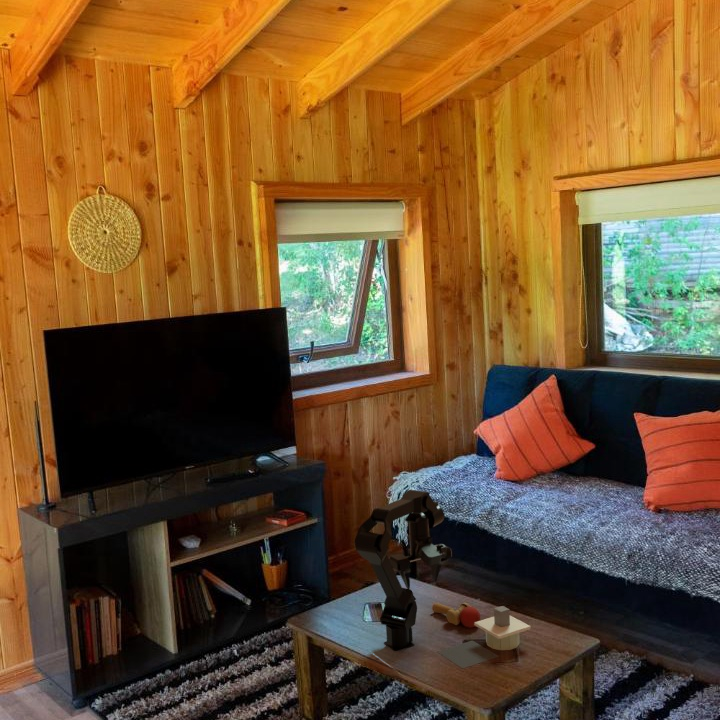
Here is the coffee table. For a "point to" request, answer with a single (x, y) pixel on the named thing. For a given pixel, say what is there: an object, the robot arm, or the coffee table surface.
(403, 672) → the coffee table surface
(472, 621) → the kendama
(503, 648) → the bowl
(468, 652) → the gray square plate
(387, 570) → the robot arm
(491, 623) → the lid
